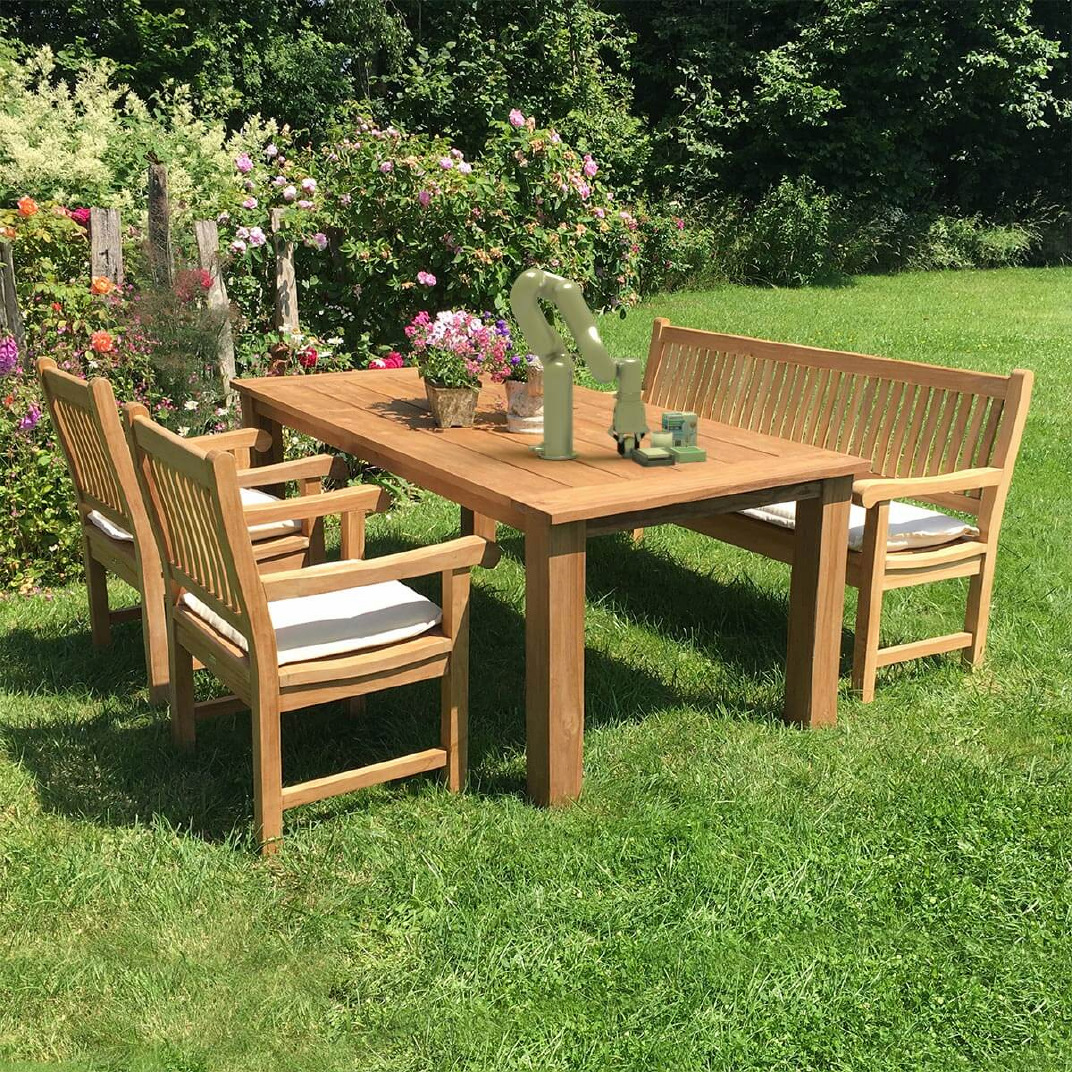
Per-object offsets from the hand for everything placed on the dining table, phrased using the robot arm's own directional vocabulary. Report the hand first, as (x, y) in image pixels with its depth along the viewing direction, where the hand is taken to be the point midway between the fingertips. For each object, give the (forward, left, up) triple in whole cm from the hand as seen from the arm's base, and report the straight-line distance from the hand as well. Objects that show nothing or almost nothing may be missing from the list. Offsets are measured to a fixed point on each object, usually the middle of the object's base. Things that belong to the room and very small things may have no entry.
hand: (628, 453), depth 383 cm
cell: (0, 0, -1) cm, 1 cm away
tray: (+17, -8, -1) cm, 19 cm away
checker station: (+5, -9, -1) cm, 10 cm away
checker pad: (+5, -9, +1) cm, 10 cm away
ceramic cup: (+12, +2, -1) cm, 12 cm away
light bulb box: (+23, +14, -2) cm, 27 cm away
